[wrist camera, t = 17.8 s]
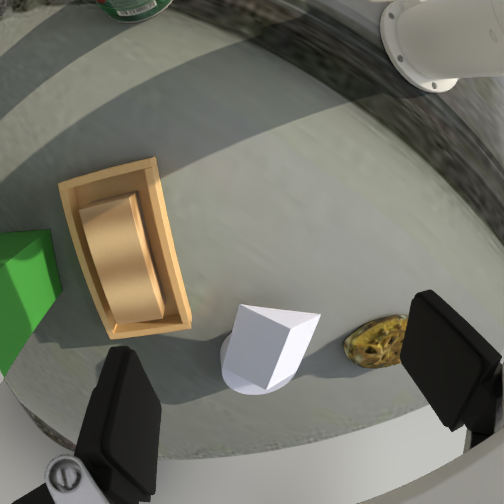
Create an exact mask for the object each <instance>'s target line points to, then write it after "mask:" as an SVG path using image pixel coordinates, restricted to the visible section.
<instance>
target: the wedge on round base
mask: <svg viewBox="0 0 504 504" xmlns="http://www.w3.org/2000/svg"><path fill="white" fill-rule="evenodd" d="M320 315H321V314H313V313H304V312H296V311H288V310H279V309H272V308H264V307H257V306H249V305H242V304H239V308H238V312H237V315H236V319H235V323H234V326H233V330H232V333H230V334H229V335H228V336H227V337H226V339H225V340H224V342H223V343H222V346H221V349H220V359H221V369H222V376H223V379H224V381H225V383H226V384H227V385H228V386H229V387H230V388H232V389H233V390H235V391H237V392H240V393H243V394H249V395H259V394H265V393H269V392H272V391H275V390H277V389H279V388H281V387H283V386H284V385H285V384H287V383H288V382H289V381H290V380H291V379H292V378H293V376H294V375H295V373H296V371H297V369H298V367H299V364H300V362H301V360H302V358H303V355H304V353H305V351H306V349H307V346H308V344H309V342H310V339H311V337H312V335H313V332H314V330H315V328H316V325H317V323H318V320H319V318H320Z"/></svg>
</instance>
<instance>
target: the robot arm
mask: <svg viewBox="0 0 504 504" xmlns="http://www.w3.org/2000/svg"><path fill="white" fill-rule="evenodd" d="M380 33H381V38H382V42H383V45H384V48H385V50H386V52H387V54H388V56H389V58H390V60H391V62H392V63H393V65H394V66H395V68H396V69H397V70H398V71H399V72H400V74H401V75H402V76H403V77H404V78H405V79H406V80H407V81H408V82H410V83H411V84H412V85H414V86H415V87H417V88H419V89H421V90H423V91H426V92H431V93H437V92H445V91H447V90H449V89H451V88H452V87H453V86H454V85H455V84H456V82H457V80H458V78H467V77H486V76H504V0H396V1H394V2H392V3H391V4H389V5H388V6H387V7H386V8H385V9H384V11H383V13H382V15H381V20H380ZM501 358H502V356H501V355H500V354H499V353H498V352H497V351H496V350H495V349H494V348H493V347H492V346H491V345H490V344H489V343H488V342H487V341H486V340H485V339H484V338H483V337H482V336H481V335H480V334H479V333H478V332H477V331H476V330H475V329H474V328H473V327H472V326H471V325H470V324H469V323H468V322H467V321H466V320H465V319H464V318H463V317H462V316H460V315H459V314H458V313H457V312H456V311H455V310H454V309H453V308H452V307H451V306H450V305H448V304H447V303H446V302H445V301H444V300H443V299H442V298H441V297H440V296H438V295H437V294H436V293H435V292H434V291H432V290H426V291H423V292H419V293H417V294H416V295H415V297H414V299H412V301H411V306H410V311H409V316H408V321H407V326H406V331H405V335H404V339H403V344H402V348H401V352H400V361H401V363H402V365H403V366H404V367H405V369H406V370H407V372H408V373H409V375H410V376H411V377H412V379H413V380H414V382H415V383H416V385H417V386H418V388H419V389H420V391H421V392H422V393H423V395H424V396H425V398H426V399H427V401H428V402H429V404H430V405H431V407H432V408H433V410H434V411H435V413H436V414H437V416H438V417H439V419H440V420H441V422H442V423H443V425H444V426H446V427H449V429H450V430H451V432H453V431H455V430H457V429H458V428H460V427H462V426H463V425H464V424H465V426H466V427H467V433H466V439H465V446H464V452H463V455H461V456H459V457H458V458H456V459H454V460H453V461H451V462H449V463H447V464H445V465H444V466H442V467H440V468H438V469H436V470H434V471H432V472H431V473H429V474H427V475H425V476H423V477H421V478H419V479H417V480H414V481H412V482H410V483H408V484H406V485H403V486H401V487H399V488H397V489H394V490H392V491H390V492H387V493H385V494H382V495H379V496H377V497H374V498H372V499H369V500H366V501H364V502H360V503H357V504H504V363H503V364H501V363H500V360H501ZM161 411H162V410H161V404H160V401H159V399H158V397H157V395H156V393H155V391H154V389H153V387H152V385H151V383H150V381H149V379H148V377H147V375H146V373H145V371H144V369H143V367H142V365H141V362H140V360H139V358H138V356H137V354H136V352H135V350H130V348H129V347H128V346H118V347H111V348H110V349H109V352H108V354H107V357H106V360H105V363H104V366H103V369H102V371H101V374H100V377H99V380H98V383H97V386H96V387H95V388H94V390H93V392H92V395H91V398H90V401H89V404H88V407H87V410H86V414H85V417H84V420H83V424H82V427H81V431H80V434H79V438H78V441H77V445H76V449H75V453H74V456H73V455H69V454H66V455H60V456H57V457H55V458H54V459H52V460H51V461H50V463H49V464H48V465H47V467H46V471H45V483H44V484H42V485H41V486H39V487H37V488H36V489H34V490H33V491H31V492H29V493H28V494H26V495H24V496H23V497H21V498H20V499H18V500H16V501H14V502H13V503H12V504H139V501H140V502H150V499H151V495H154V494H155V491H156V473H157V458H158V445H159V433H160V422H161Z"/></svg>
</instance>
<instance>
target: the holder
mask: <svg viewBox="0 0 504 504" xmlns="http://www.w3.org/2000/svg"><path fill="white" fill-rule="evenodd" d="M58 188H59V192H60V196H61V201H62V205H63V209H64V212H65V216H66V220H67V224H68V227H69V231H70V234H71V237H72V241H73V244H74V247H75V250H76V253H77V257H78V260H79V263H80V265H81V268H82V271H83V274H84V277H85V280H86V282H87V285H88V288H89V290H90V293H91V296H92V298H93V301H94V303H95V306H96V308H97V311H98V313H99V315H100V318H101V320H102V322H103V325H104V327H105V329H106V332H107V334H108V336H109V338H110V339H120V338H128V337H137V336H144V335H152V334H159V333H166V332H173V331H180V330H186V329H191V326H192V314H191V310H190V307H189V303H188V299H187V296H186V292H185V288H184V284H183V280H182V276H181V272H180V268H179V264H178V260H177V256H176V252H175V248H174V243H173V239H172V235H171V230H170V226H169V221H168V216H167V212H166V207H165V202H164V197H163V192H162V187H161V182H160V177H159V171H158V166H157V160H156V157H151V158H146V159H142V160H138V161H133V162H129V163H125V164H121V165H117V166H113V167H110V168H106V169H102V170H99V171H95V172H92V173H88V174H85V175H81V176H78V177H75V178H72V179H68V180H66V181H63V182H61V183H58ZM136 190H138V192H139V197H140V201H141V206H142V210H143V215H144V219H145V223H146V227H147V232H148V236H149V240H150V243H151V247H152V251H153V255H154V259H155V262H156V266H157V270H158V273H159V277H160V280H161V284H162V287H163V291H164V294H165V297H166V304H165V310H164V315H163V319H156V320H150V321H143V322H136V323H128V324H121V325H117V323H116V321H115V318H114V316H113V313H112V311H111V308H110V306H109V303H108V300H107V298H106V295H105V292H104V290H103V287H102V284H101V281H100V279H99V276H98V273H97V270H96V267H95V264H94V261H93V258H92V255H91V252H90V248H89V245H88V242H87V238H86V235H85V232H84V228H83V224H82V221H81V217H80V213H79V210H80V209H81V208H83V207H84V206H86V205H87V204H89V203H91V202H92V201H95V200H99V199H103V198H107V197H111V196H115V195H119V194H123V193H128V192H132V191H136Z"/></svg>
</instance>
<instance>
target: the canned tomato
mask: <svg viewBox="0 0 504 504" xmlns="http://www.w3.org/2000/svg"><path fill="white" fill-rule="evenodd" d="M95 1H96V3H97V4H98V5H99V6H100V7H101V8H102V10H103V11H104V12H105V14H106V15H107V16H108V17H109V18H111V19H112V20H114V21H117V22H121V23H136V22H141V21H144V20H147V19H150V18H152V17H154V16H156V15H158V14H159V13H161V12H162V11H163V10H165V9H166V8H167V7H168V6H169V5H170V4H171V3H172V1H173V0H95Z"/></svg>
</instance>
